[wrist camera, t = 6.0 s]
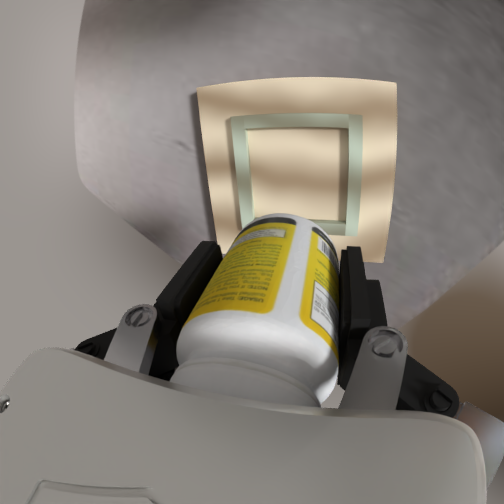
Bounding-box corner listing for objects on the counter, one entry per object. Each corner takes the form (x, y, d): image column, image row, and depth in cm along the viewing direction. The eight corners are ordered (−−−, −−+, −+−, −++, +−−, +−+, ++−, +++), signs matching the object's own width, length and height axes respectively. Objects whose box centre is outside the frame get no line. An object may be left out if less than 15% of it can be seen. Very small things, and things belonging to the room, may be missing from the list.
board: (202, 88, 23) (192, 87, 21) (392, 83, 19) (398, 82, 17) (223, 246, 32) (216, 257, 31) (380, 255, 28) (384, 266, 26)
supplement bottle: (222, 275, 14) (139, 426, 7) (253, 192, 11) (135, 361, 4) (309, 313, 14) (278, 477, 7) (359, 240, 11) (374, 444, 4)
